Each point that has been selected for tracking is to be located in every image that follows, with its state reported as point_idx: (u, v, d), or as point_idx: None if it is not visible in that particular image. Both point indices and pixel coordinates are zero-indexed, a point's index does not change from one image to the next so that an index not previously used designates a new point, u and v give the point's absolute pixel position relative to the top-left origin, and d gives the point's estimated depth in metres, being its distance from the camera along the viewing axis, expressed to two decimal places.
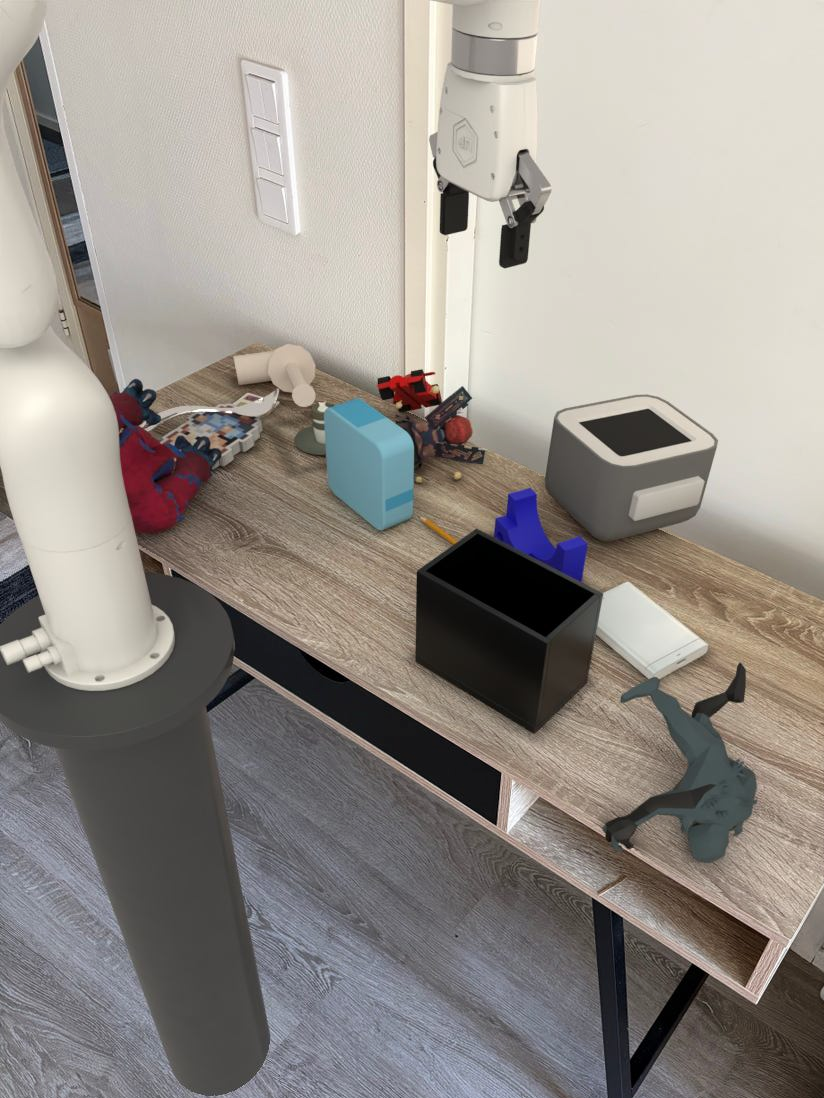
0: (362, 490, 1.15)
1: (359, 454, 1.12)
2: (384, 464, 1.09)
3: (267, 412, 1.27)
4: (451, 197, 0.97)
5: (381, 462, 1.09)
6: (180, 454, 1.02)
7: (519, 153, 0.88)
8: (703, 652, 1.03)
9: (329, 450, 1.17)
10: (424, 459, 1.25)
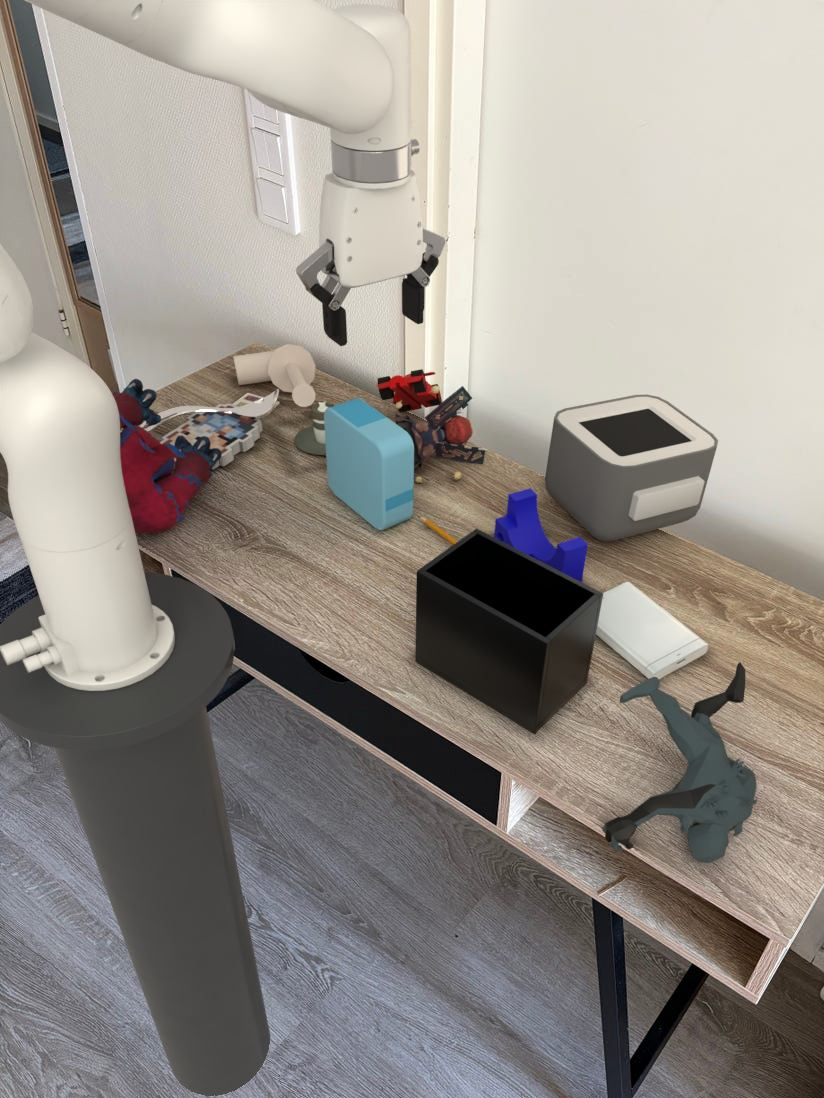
0: (362, 490, 1.15)
1: (359, 454, 1.12)
2: (384, 464, 1.09)
3: (267, 412, 1.27)
4: (406, 284, 1.05)
5: (381, 462, 1.09)
6: (180, 454, 1.02)
7: (328, 241, 0.95)
8: (703, 652, 1.03)
9: (329, 450, 1.17)
10: (424, 459, 1.25)
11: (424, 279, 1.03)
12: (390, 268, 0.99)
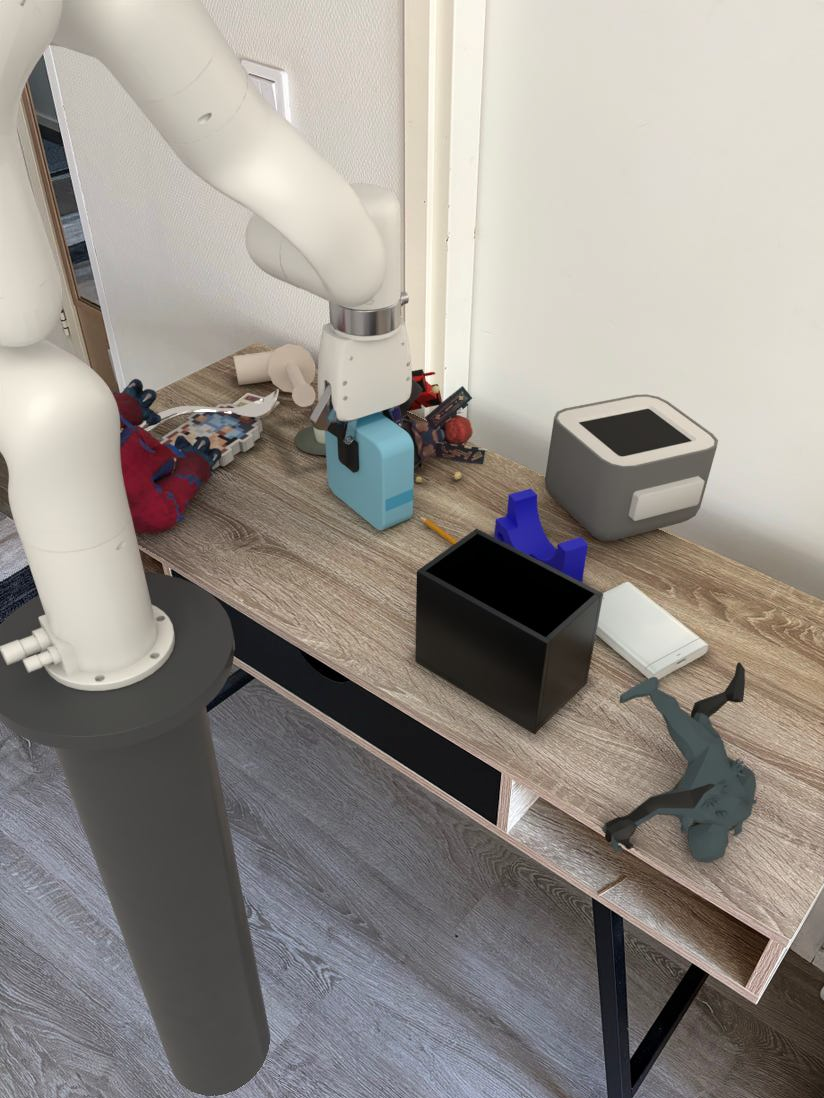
0: (361, 490, 1.15)
1: (359, 454, 1.12)
2: (384, 464, 1.09)
3: (267, 413, 1.27)
4: None
5: (381, 462, 1.09)
6: (180, 454, 1.02)
7: (327, 387, 1.06)
8: (703, 652, 1.03)
9: (329, 450, 1.17)
10: (424, 459, 1.25)
11: (398, 420, 1.13)
12: (382, 402, 1.09)
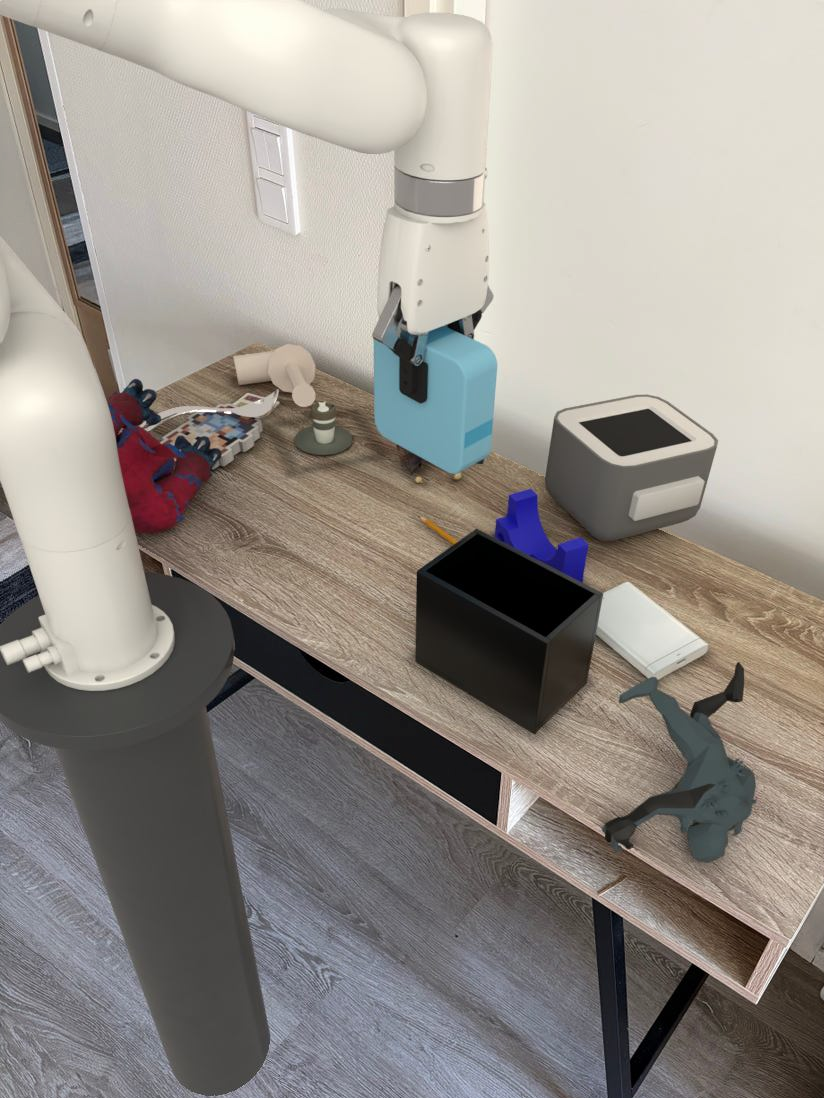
0: (429, 425, 0.93)
1: None
2: (467, 386, 0.88)
3: (266, 413, 1.27)
4: None
5: (463, 384, 0.87)
6: (180, 454, 1.02)
7: (394, 291, 0.84)
8: (703, 652, 1.03)
9: (379, 381, 0.95)
10: None
11: (469, 335, 0.92)
12: (457, 309, 0.87)
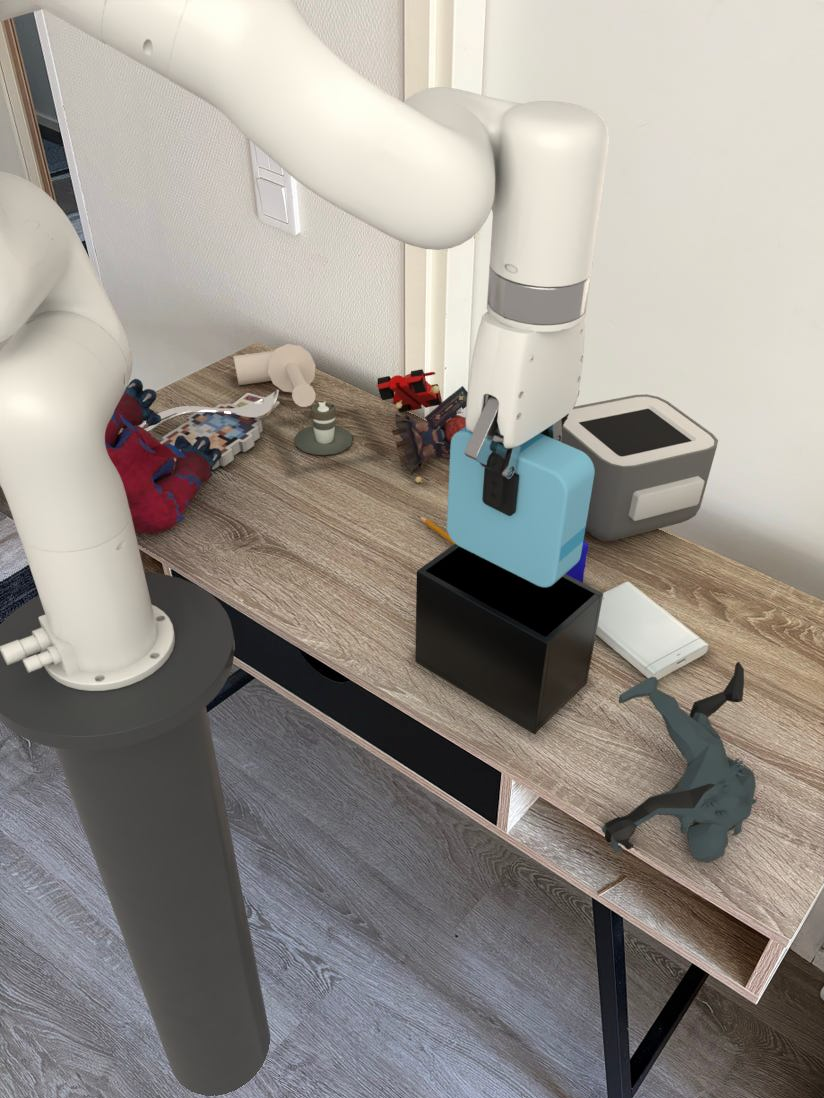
0: (516, 537, 0.85)
1: (518, 490, 0.81)
2: (567, 500, 0.79)
3: (266, 413, 1.27)
4: None
5: (564, 498, 0.79)
6: (180, 454, 1.02)
7: (488, 403, 0.75)
8: (703, 652, 1.03)
9: (456, 488, 0.86)
10: (424, 459, 1.25)
11: (557, 437, 0.83)
12: (552, 416, 0.79)
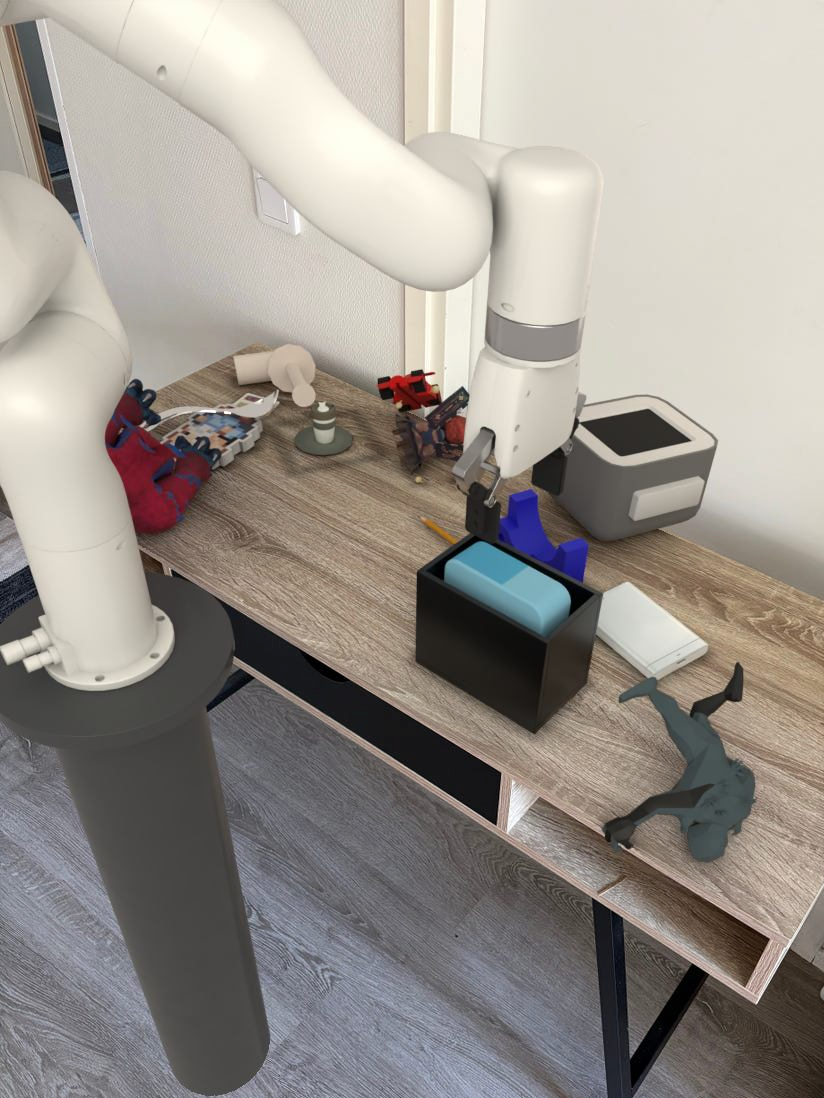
0: None
1: None
2: (544, 628, 0.89)
3: (266, 413, 1.27)
4: None
5: (540, 626, 0.88)
6: (180, 454, 1.02)
7: (484, 429, 0.76)
8: (703, 652, 1.03)
9: None
10: (424, 459, 1.25)
11: (568, 446, 0.86)
12: (547, 446, 0.81)
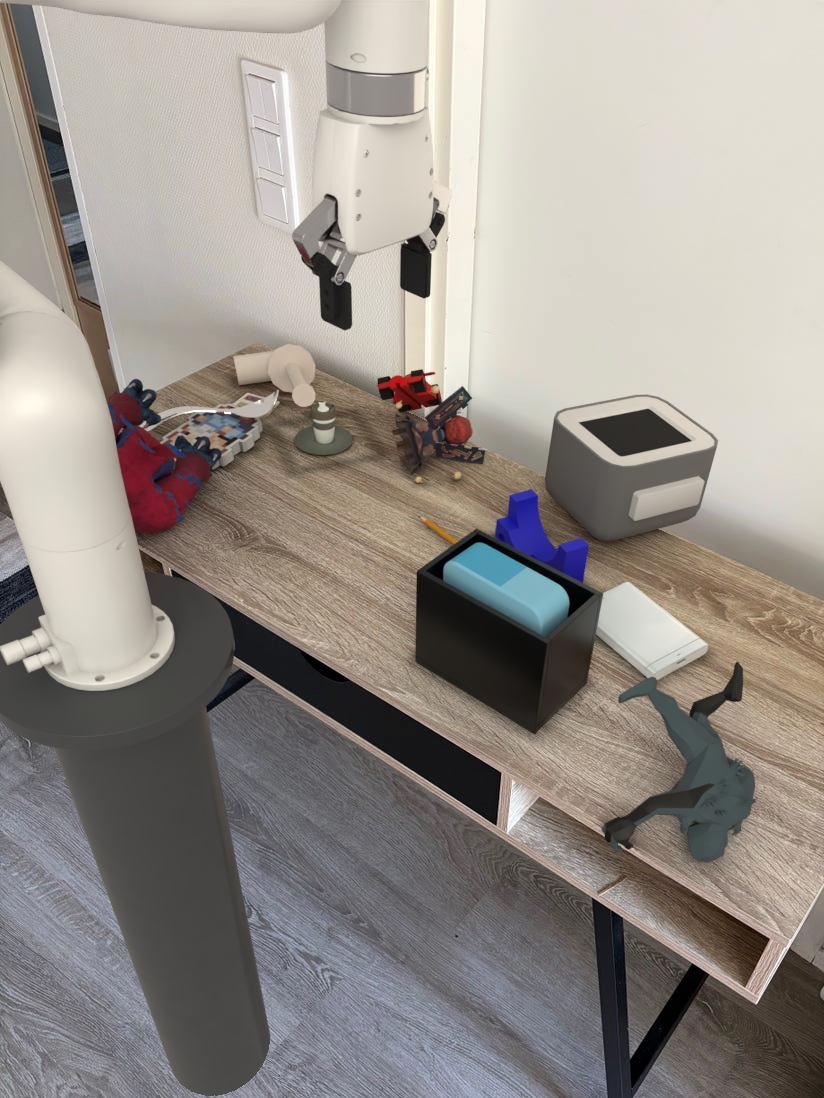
0: None
1: None
2: (542, 630, 0.88)
3: (266, 413, 1.27)
4: (406, 251, 0.86)
5: (539, 628, 0.88)
6: (180, 454, 1.02)
7: (328, 197, 0.75)
8: (703, 652, 1.03)
9: None
10: (424, 459, 1.25)
11: (431, 242, 0.85)
12: (401, 228, 0.80)
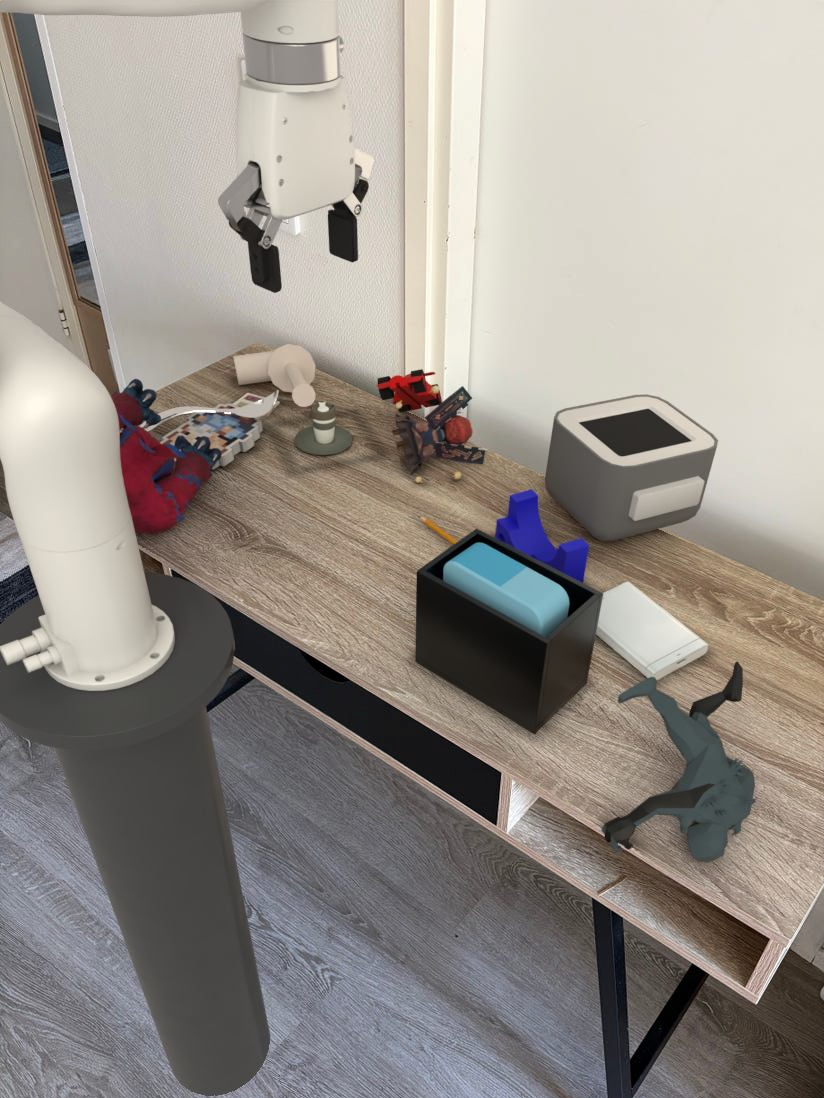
0: None
1: None
2: (542, 630, 0.88)
3: (266, 413, 1.27)
4: (333, 216, 0.90)
5: (539, 628, 0.88)
6: (180, 454, 1.02)
7: (251, 164, 0.79)
8: (703, 652, 1.03)
9: None
10: (424, 459, 1.25)
11: (356, 207, 0.89)
12: (324, 193, 0.84)
